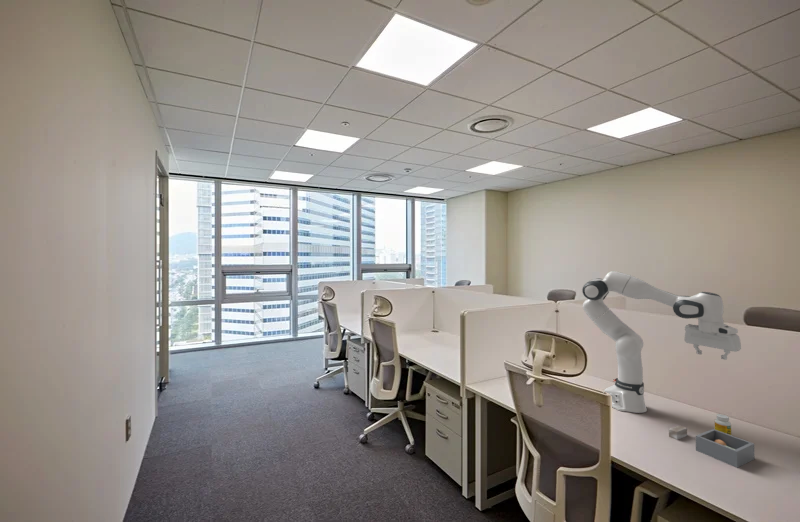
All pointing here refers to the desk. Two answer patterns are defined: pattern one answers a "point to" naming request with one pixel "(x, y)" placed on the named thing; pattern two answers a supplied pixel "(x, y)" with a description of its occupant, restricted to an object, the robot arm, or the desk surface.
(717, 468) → the desk surface
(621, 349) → the robot arm
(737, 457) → the storage box
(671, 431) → the lid
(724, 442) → the ball
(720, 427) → the supplement bottle
